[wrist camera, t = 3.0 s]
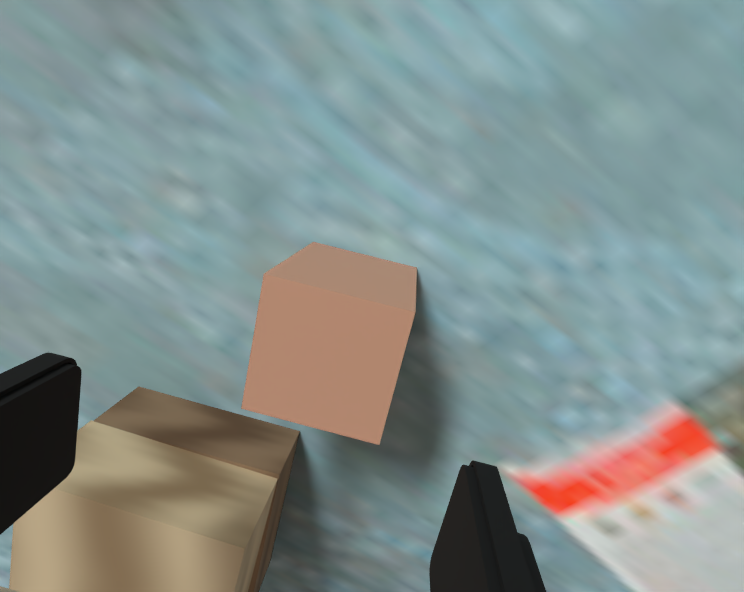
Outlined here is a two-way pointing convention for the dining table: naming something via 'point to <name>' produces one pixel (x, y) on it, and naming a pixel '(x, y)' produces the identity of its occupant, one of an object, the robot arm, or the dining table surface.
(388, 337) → the block
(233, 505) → the slab top
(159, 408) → the slab bottom
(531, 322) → the dining table surface
